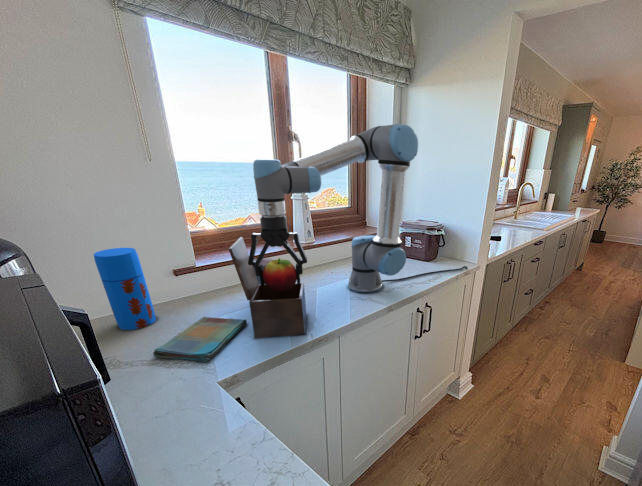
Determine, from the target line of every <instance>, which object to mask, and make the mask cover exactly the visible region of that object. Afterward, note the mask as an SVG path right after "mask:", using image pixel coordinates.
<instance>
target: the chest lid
mask: <svg viewBox="0 0 642 486" xmlns="http://www.w3.org/2000/svg"><path fill="white" fill-rule="evenodd" d="M228 252H229V254H230V258H231V260H232V263H233V265H234V268H235V270H236V273H237V276H238V279H239V281H240V284H241V287H242V290H243V292H244V295H245V297H246V300H247V301H250V299H251V297H252V295H253V293H254V291H255V289H256V287H257V285H258V281H257V278H256V275H255V272H254V269H253V266H252V265H248V260H249V255H250V253H249V252H248V249H247V245H246V243H245V240H244V237H243V236H240V237H239V238H238V239H237V240H236V241H235V242H233V244H231V246H230V247H229V248H228Z"/></svg>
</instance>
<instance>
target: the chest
mask: <svg viewBox="0 0 642 486" xmlns="http://www.w3.org/2000/svg"><path fill="white" fill-rule="evenodd" d="M248 303H249V310H250V316H251V322H252V328H253V335H254V339H259V338H260V339H261V338H263V339H264V338H273V337H274V338H275V337H276V338H277V337H291V336H305V335H306V324H307V305H306V293H305V283H304V282H300V285H297V282H296V283H295V285H294V286H293V287H292V288H291V289H289V290H286V291H273V290H271V289H270V288H268V287H267V286H266V284H265V285H264V287H261V285H257V287H256V289H255V291H254V293H253V295H252V297H251V299H250V300H248Z"/></svg>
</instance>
